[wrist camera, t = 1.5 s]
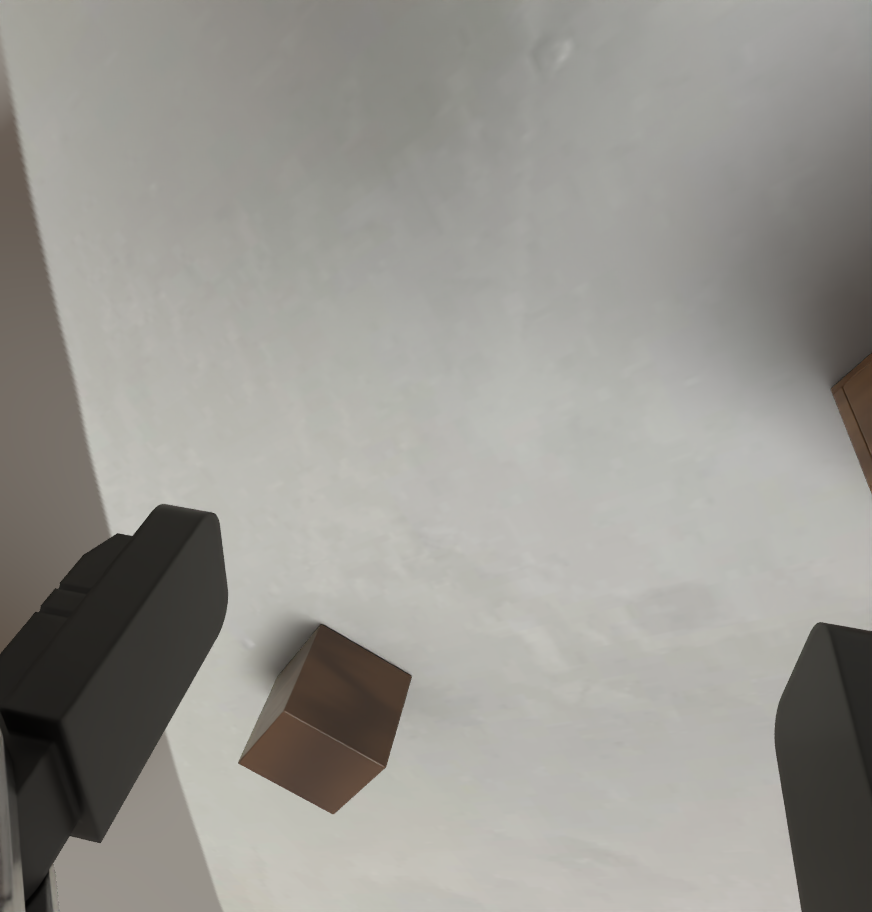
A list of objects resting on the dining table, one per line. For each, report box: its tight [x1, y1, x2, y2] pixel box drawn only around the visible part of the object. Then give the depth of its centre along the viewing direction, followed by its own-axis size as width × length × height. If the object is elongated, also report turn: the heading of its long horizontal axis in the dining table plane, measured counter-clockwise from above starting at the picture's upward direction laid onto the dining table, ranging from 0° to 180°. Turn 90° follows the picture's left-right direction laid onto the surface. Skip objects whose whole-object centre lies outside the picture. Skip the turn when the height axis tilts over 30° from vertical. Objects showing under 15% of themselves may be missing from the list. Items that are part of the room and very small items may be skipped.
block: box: [238, 624, 412, 814], centre depth 38 cm, size 5×5×5 cm
